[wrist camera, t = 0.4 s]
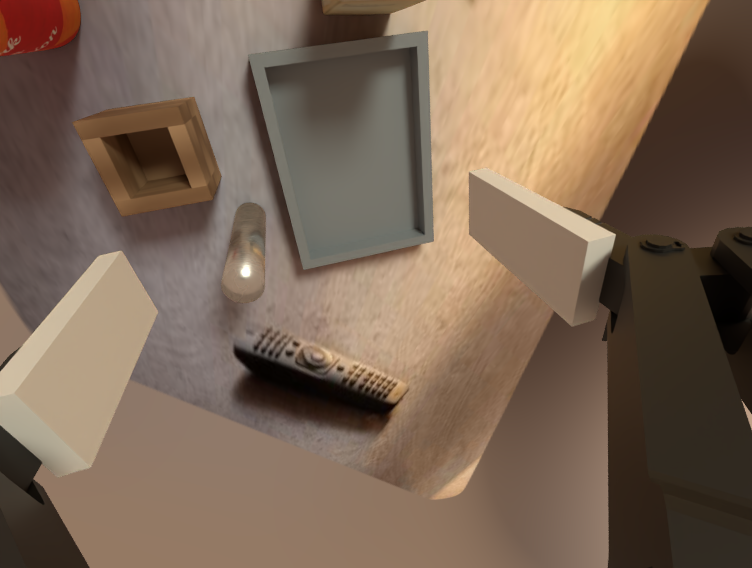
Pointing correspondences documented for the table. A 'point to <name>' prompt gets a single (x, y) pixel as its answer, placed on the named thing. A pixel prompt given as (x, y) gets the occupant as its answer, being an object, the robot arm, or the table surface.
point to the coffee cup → (37, 25)
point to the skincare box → (365, 6)
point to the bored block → (152, 155)
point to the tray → (351, 143)
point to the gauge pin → (246, 255)
